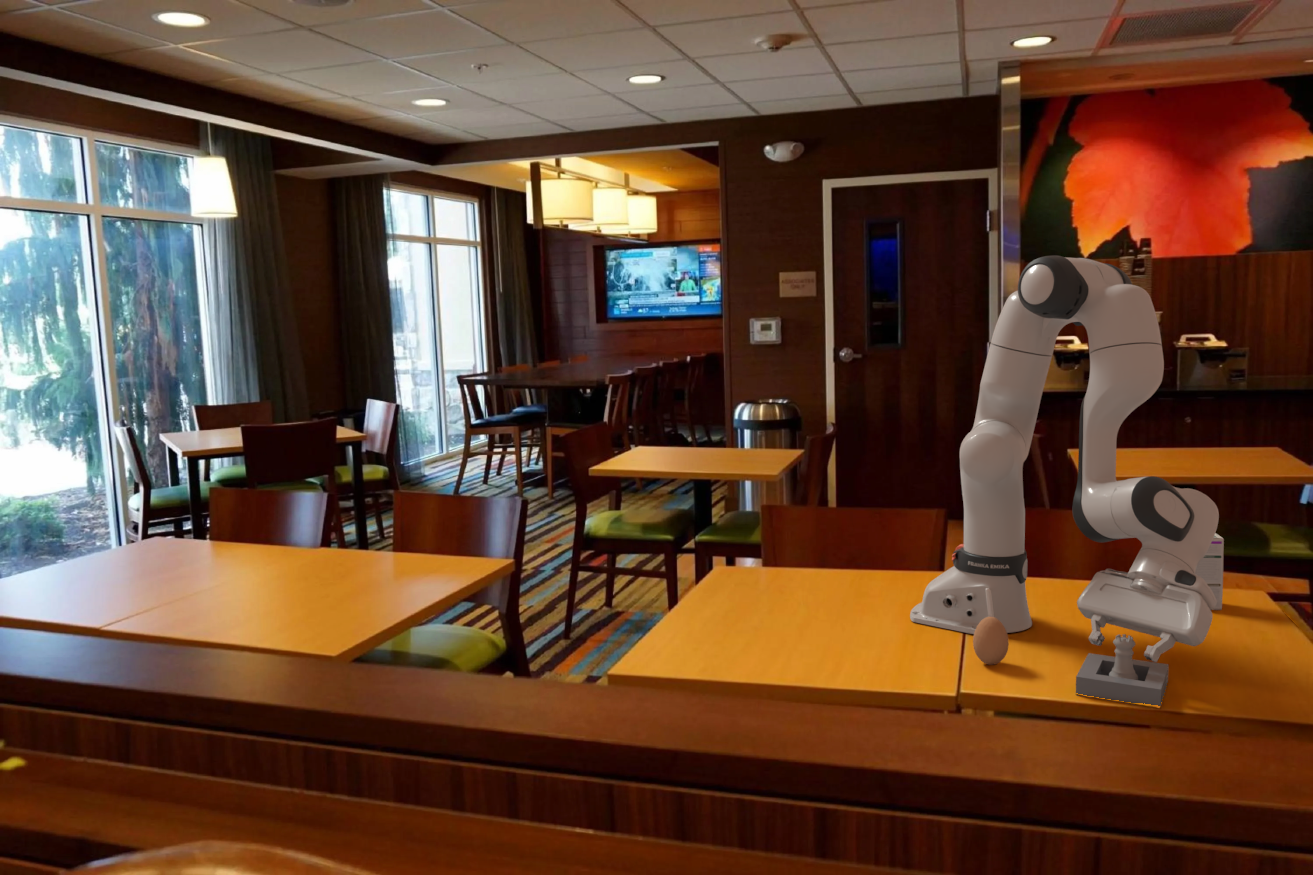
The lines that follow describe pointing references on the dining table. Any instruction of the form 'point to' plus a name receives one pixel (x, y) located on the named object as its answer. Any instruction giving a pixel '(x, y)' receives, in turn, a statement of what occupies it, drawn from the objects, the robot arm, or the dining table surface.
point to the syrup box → (1213, 569)
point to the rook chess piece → (1124, 658)
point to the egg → (990, 641)
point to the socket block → (1122, 680)
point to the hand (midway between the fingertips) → (1121, 650)
